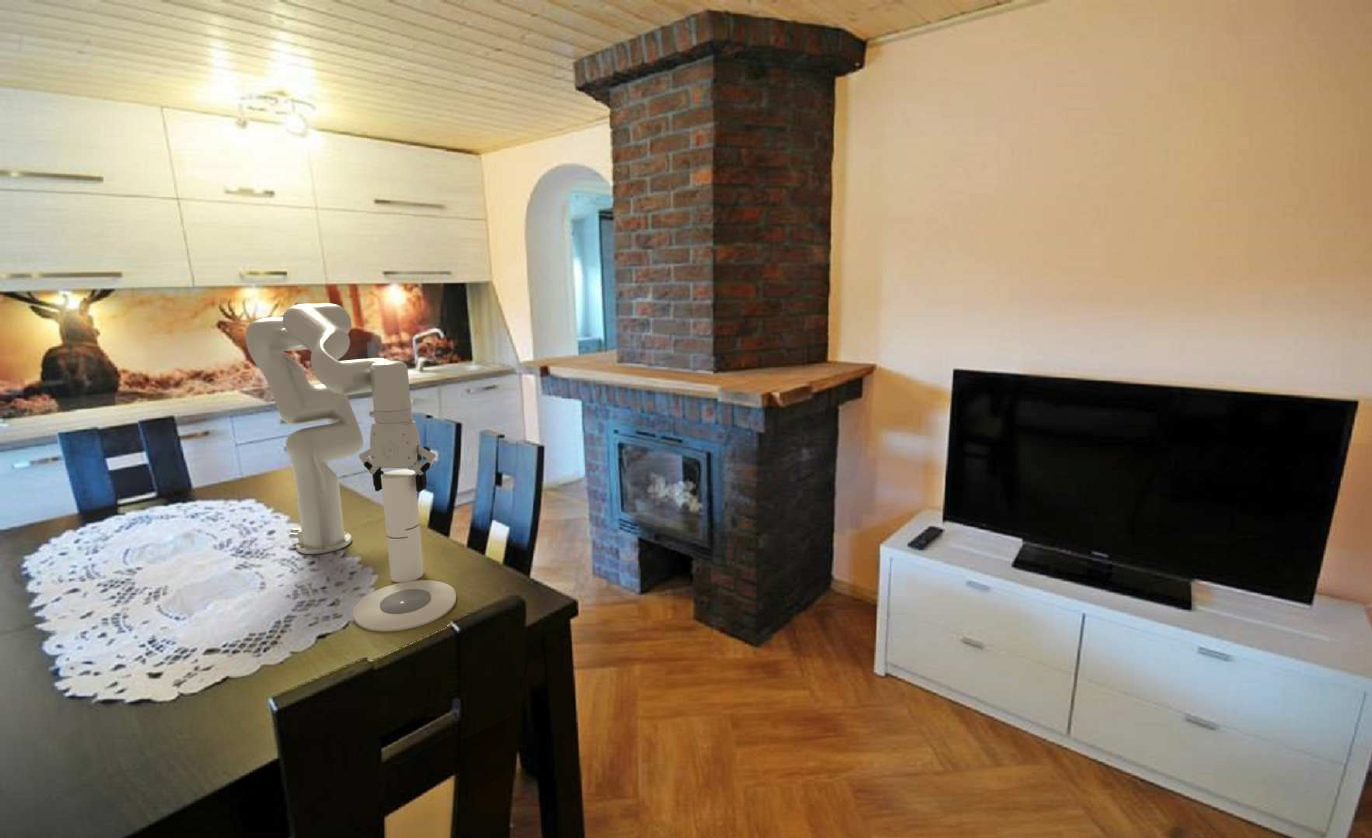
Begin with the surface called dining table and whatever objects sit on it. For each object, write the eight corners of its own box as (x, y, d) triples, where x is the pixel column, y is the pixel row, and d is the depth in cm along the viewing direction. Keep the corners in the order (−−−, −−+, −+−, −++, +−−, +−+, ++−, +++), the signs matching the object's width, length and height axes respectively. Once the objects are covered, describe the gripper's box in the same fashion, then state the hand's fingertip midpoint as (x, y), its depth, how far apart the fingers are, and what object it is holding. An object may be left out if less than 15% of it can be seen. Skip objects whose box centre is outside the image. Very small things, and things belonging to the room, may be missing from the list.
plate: (332, 629, 123) (331, 622, 123) (385, 582, 143) (385, 576, 142) (430, 633, 122) (429, 627, 122) (470, 586, 142) (470, 580, 141)
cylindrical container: (428, 575, 147) (420, 473, 141) (398, 585, 142) (388, 480, 136) (415, 565, 151) (407, 467, 146) (385, 575, 146) (375, 473, 141)
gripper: (346, 419, 135) (354, 494, 139) (423, 420, 134) (429, 495, 138) (365, 413, 143) (373, 484, 146) (438, 413, 142) (444, 485, 145)
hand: (400, 489), depth 142 cm, fingers open, 9 cm apart
